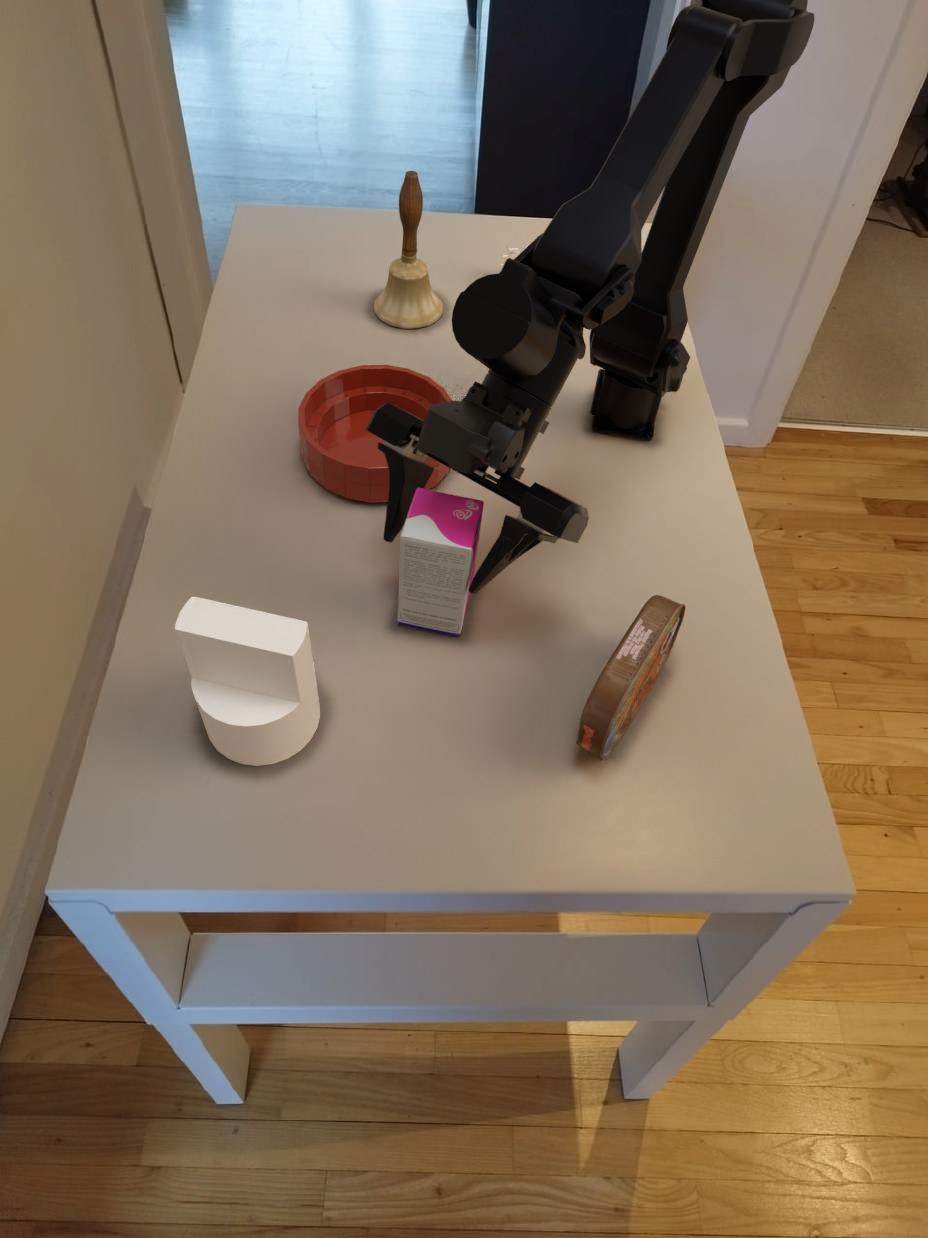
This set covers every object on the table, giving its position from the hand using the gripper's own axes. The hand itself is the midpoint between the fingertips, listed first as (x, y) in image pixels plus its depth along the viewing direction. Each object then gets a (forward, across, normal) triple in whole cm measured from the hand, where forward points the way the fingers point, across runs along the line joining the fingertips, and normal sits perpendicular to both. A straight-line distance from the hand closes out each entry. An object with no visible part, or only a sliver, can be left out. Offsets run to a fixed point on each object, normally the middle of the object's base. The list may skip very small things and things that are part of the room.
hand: (428, 566), depth 72 cm
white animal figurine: (-28, -20, +38) cm, 51 cm away
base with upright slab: (+16, -4, -6) cm, 18 cm away
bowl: (-5, -17, +14) cm, 23 cm away
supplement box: (+4, 0, +6) cm, 7 cm away
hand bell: (-20, -30, +30) cm, 46 cm away
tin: (+3, +18, +7) cm, 19 cm away
